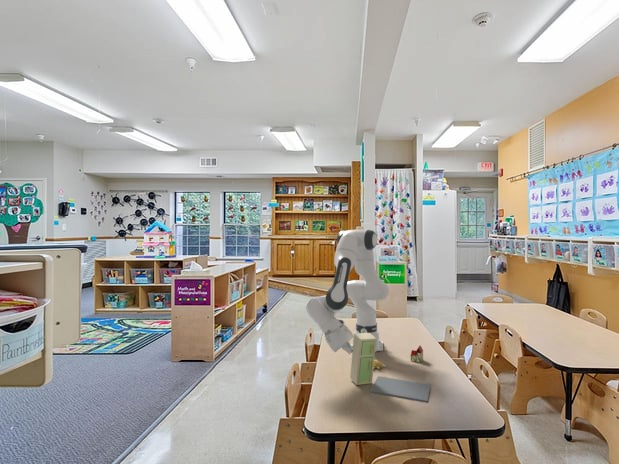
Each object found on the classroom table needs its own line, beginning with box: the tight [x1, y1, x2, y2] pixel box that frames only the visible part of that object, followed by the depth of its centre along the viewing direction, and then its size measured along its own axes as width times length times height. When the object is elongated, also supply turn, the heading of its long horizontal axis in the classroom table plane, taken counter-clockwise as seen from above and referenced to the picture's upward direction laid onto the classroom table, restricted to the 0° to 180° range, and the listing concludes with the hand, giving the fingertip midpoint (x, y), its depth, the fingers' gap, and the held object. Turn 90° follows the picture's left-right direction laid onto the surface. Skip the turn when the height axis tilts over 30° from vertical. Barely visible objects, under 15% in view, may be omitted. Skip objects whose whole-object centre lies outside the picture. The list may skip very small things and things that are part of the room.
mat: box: [369, 375, 432, 403], centre depth 151 cm, size 16×23×1 cm
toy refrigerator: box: [349, 333, 376, 386], centre depth 157 cm, size 8×7×21 cm
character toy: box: [373, 358, 387, 370], centre depth 175 cm, size 8×3×8 cm
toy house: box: [410, 344, 424, 364], centre depth 184 cm, size 6×7×8 cm
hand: (351, 352), depth 159 cm, fingers closed, pressing on toy refrigerator
